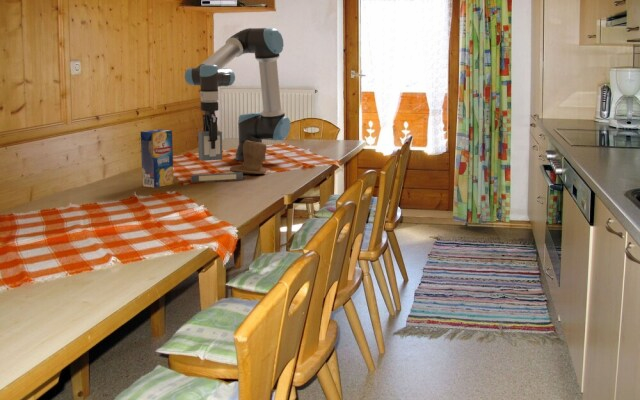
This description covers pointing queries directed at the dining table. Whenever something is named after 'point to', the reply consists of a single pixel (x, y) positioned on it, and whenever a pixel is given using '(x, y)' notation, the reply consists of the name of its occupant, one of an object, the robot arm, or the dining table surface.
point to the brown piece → (251, 158)
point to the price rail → (216, 177)
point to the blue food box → (157, 158)
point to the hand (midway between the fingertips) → (210, 155)
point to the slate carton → (204, 146)
